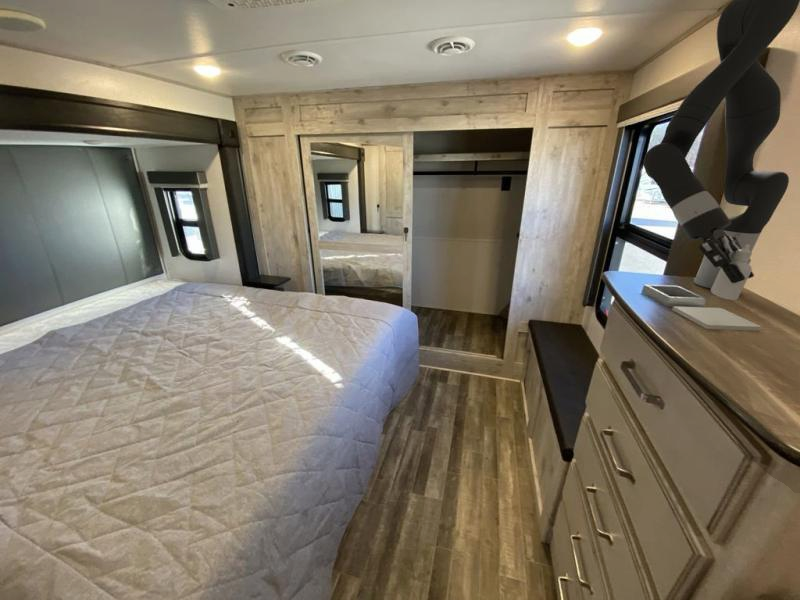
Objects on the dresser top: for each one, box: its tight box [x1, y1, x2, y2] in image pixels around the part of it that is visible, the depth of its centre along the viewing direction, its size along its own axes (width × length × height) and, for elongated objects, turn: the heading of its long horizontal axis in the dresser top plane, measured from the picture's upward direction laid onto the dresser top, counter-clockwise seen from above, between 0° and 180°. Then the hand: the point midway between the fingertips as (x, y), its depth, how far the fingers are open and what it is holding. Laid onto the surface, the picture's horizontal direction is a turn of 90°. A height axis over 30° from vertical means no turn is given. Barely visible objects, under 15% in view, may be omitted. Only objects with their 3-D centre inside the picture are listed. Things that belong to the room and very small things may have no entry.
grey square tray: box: [641, 284, 708, 308], centre depth 86 cm, size 10×10×2 cm
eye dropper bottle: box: [710, 245, 753, 301], centre depth 71 cm, size 4×6×12 cm
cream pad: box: [671, 306, 762, 332], centre depth 75 cm, size 12×10×1 cm
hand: (743, 279), depth 70 cm, fingers closed on eye dropper bottle, 4 cm apart
